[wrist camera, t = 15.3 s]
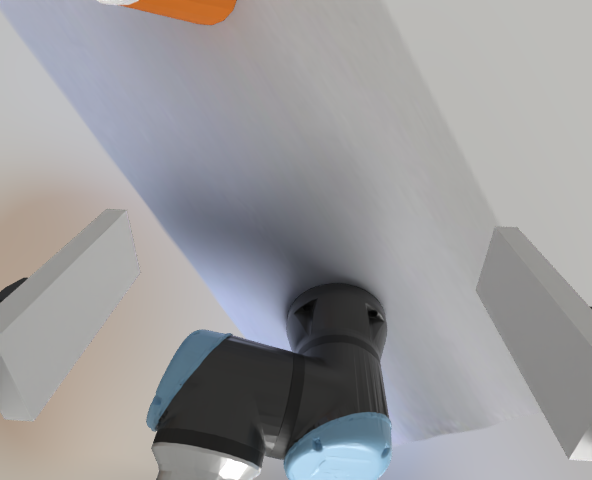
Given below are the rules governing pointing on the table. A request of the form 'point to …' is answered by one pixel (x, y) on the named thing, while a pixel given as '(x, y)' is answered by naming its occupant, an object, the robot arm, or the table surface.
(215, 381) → the robot arm
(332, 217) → the table surface
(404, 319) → the table surface
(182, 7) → the spray bottle
